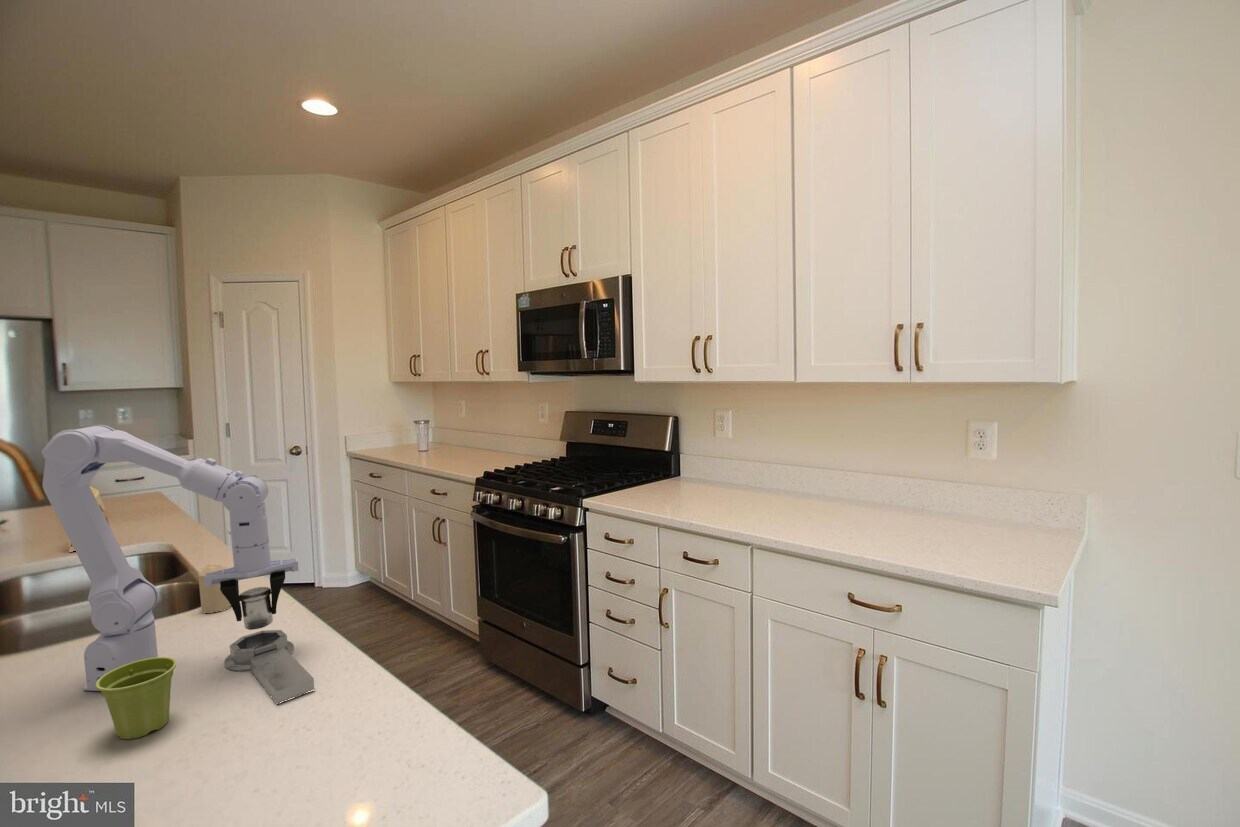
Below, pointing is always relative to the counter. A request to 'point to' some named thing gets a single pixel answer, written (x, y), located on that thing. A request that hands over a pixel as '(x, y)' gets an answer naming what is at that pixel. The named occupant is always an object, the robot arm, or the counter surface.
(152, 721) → the plant pot
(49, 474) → the robot arm
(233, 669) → the grey piece
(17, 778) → the counter surface
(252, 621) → the metal knob
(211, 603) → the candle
